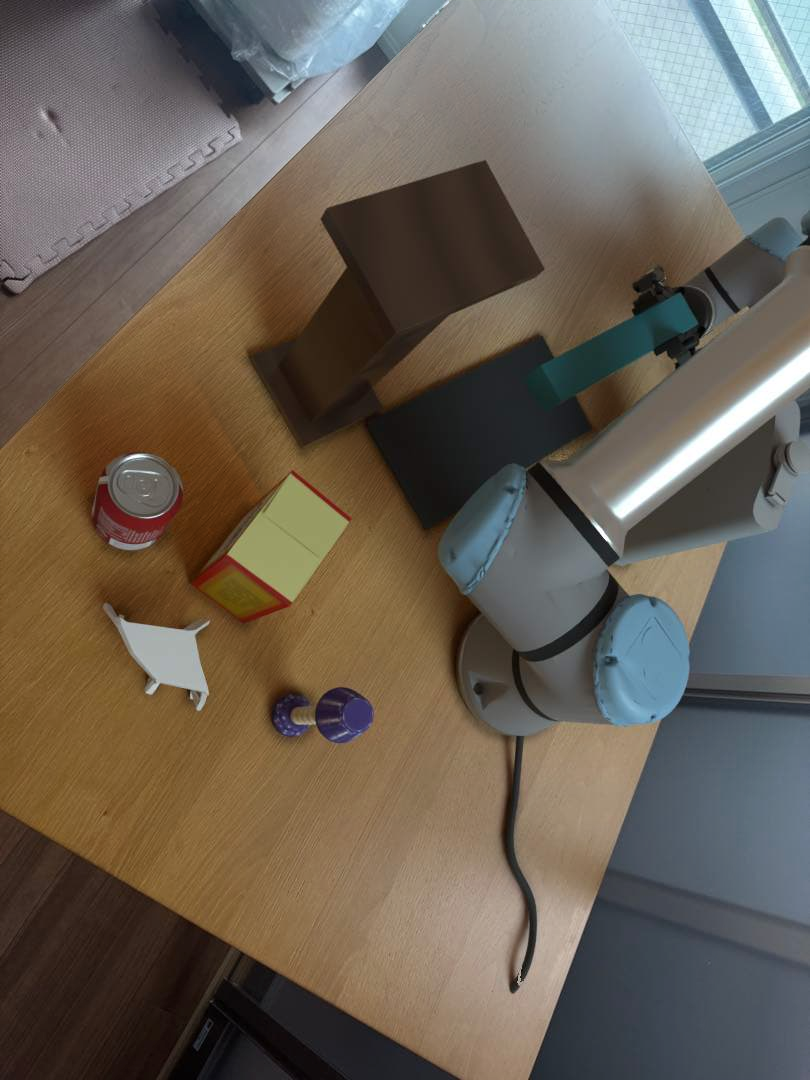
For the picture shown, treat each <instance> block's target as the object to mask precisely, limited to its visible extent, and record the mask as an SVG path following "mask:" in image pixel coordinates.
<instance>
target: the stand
mask: <svg viewBox="0 0 810 1080" xmlns="http://www.w3.org/2000/svg"><path fill="white" fill-rule="evenodd" d="M320 222H321V223H322V225H323V227H324V229H325V230H326V232H327V234H328V235H329V238H330V240H331V241H332V243H333V245H334V246H335V248H336V251H338V254H339V255H340V257H341V259H342V261H343V263H344V264H345V266H346V268H345V269H344V270H343V272H342V273H341V275H340V276H339V278H338V279H337V281H336V282H335V283H334V285H333V286H332V288H331V289H330V291H329V292H328V294H327V295H326V296H325V297H324V299H323V300H322V303H321V304H320V305H319V306H318V308H317V309H316V311H315V312H314V313H313V315H312V316H311V317H310V319H309V321H308V322H307V323H306V325H305V326H304V328H303V329H302V331H301V332H300V334H299V335H298V337H296V338H294V339H291V340H289V341H286V342H283V343H282V344H279V345H276V346H273V347H271V348H269V349H266V350H263V351H261V352H258V353H256V354H253V355H252V356H251V358H250V360H249V361H250V363H251V365H252V366H253V369H254V370H255V371H256V373H257V375H258V376H259V379H260V380H261V382H262V383H263V385H264V387H265V389H266V391H267V392H268V394H269V396H270V398H271V400H272V402H273V403H274V405H275V407H276V408H277V410H278V411H279V413H280V415H281V417H282V418H283V420H284V422H285V424H286V426H287V428H288V429H289V431H290V433H291V434H292V436H293V438H294V439H295V442H296V443H297V445H298V446H299V448H300V449H301V450H303V449H306V448H307V447H309V446H312V445H314V444H316V443H318V442H319V441H321V440H324V439H326V438H328V437H330V436H332V435H334V434H337V433H339V432H340V431H342V430H344V429H347V428H348V427H350V426H352V425H355V424H356V423H358V422H361V421H363V420H364V419H367V418H370V417H371V416H373V415H375V414H377V413H379V412H380V411H381V410H383V409H384V407H383V405H382V403H381V401H380V400H379V398H378V396H377V394H376V392H375V390H374V389H373V388H374V387H375V386H377V384H378V383H379V382H380V381H381V380H382V379H384V378H385V377H386V376H387V375H388V374H389V373H390V372H391V371H392V370H393V369H394V368H395V367H396V366H397V365H398V364H400V362H402V361H403V360H404V359H405V358H406V357H407V356H408V355H409V354H410V353H411V352H412V351H413V350H414V349H415V348H416V347H418V346H419V344H420V343H422V341H424V340H425V339H426V338H427V337H428V336H429V335H430V334H431V333H432V332H433V331H435V329H436V328H437V327H439V326H440V325H441V324H442V323H443V322H444V321H445V320H446V319H447V318H448V317H449V316H451V315H454V314H455V313H457V312H460V311H462V310H464V309H467V308H469V307H471V306H474V305H476V304H478V303H481V302H483V301H485V300H488V299H490V298H492V297H496V296H497V295H499V294H502V293H504V292H506V291H509V290H511V289H513V288H516V287H518V286H520V285H522V284H525V283H528V282H530V281H532V280H534V279H536V278H537V277H539V276H540V275H541V274H542V273H543V272H544V271H545V270H546V268H545V267H544V265H543V262H542V260H541V259H540V257H539V255H538V254H537V251H536V250H535V248H534V246H533V244H532V242H531V241H530V238H529V237H528V235H527V233H526V231H525V229H524V228H523V226H522V224H521V222H520V220H519V218H518V217H517V215H516V213H515V211H514V208H512V205H511V204H510V202H509V200H508V199H507V197H506V194H505V193H504V191H503V189H502V188H501V185H500V183H499V182H498V180H497V178H496V176H495V174H494V173H493V170H492V169H491V167H490V165H489V164H488V162H487V160H486V159H483V160H480V161H477V162H473V163H470V164H466V165H464V166H461V167H457V168H454V169H451V170H448V171H445V172H444V171H443V172H441V173H437V174H434V175H431V176H428V177H423V178H421V179H417V180H414V181H411V182H408V183H405V184H401V185H398V186H394V187H391V188H388V189H385V190H382V191H381V190H380V191H378V192H375V193H372V194H371V193H370V194H368V195H365V196H363V197H359V198H355V199H352V200H349V201H345V202H342V203H338V204H336V205H331V206H329V207H326V208H325V210H324V211H323V214H322V215H321V217H320Z"/></svg>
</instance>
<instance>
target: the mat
mask: <svg viewBox="0 0 810 1080" xmlns="http://www.w3.org/2000/svg"><path fill="white" fill-rule="evenodd" d="M554 358H555V357H554V355H553V353H552V351H551V349H550V347H549V345H548V343H547V342H546V339H545V338H544V336H543V335H540V336H538V337H537V338H535V339H533V340H531V341H528V342H526V343H524V344H523V345H520V346H518V347H517V348H513V349H512V350H510V351H508V352H505V353H504V354H502V355H499V356H498V357H496V358H494V359H492V360H490V361H488V362H486V363H484V364H481V365H480V366H478V367H476V368H474V369H472V370H469V371H468V372H466V373H464V374H462V375H459V376H457V377H455V378H453V379H451V380H449V381H447V382H445V383H443V384H441V385H439V386H437V387H435V388H432V389H431V390H429V391H427V392H425V393H422V394H421V395H418V396H417V397H415V398H412V399H410V400H408V401H406V402H405V403H402V404H400V405H398V406H396V407H394V408H392V409H390V410H388V411H386V412H384V413H382V414H380V415H378V416H376V417H373V418H372V419H369V420H368V421H366V422H364V425H365V427H366V429H367V431H368V433H369V434H370V436H371V438H372V440H373V441H374V443H375V444H376V447H377V448H378V450H379V452H380V454H381V455H382V457H383V459H384V460H385V463H386V464H387V466H388V467H389V469H390V472H391V473H392V475H393V477H394V478H395V480H396V481H397V483H398V486H399V487H400V489H401V491H402V493H403V494H404V496H405V498H406V499H407V501H408V503H409V505H410V507H411V508H412V510H413V512H414V514H415V515H416V517H417V519H418V520H419V523H420V524H421V526H422V528H423V530H424V531H427V530H429V529H430V528H432V527H433V526H435V525H437V524H438V523H440V522H442V521H444V520H445V519H446V518H448V517H450V516H452V515H453V514H455V513H456V512H459V511H460V509H461V508H462V507H463V506H464V504H465V503H466V502H467V501H468V500H469V499H470V498H471V496H472V495H473V494H474V493H475V492H476V491H477V490H478V489H479V488H480V487H481V486H482V485H483V484H484V483H485V482H486V481H487V480H488V479H489V478H491V477H492V476H493V475H496V474H497V473H498V472H499V471H500V470H501V469H502V468H503V467H505V466H507V465H509V464H513V463H514V464H517V465H519V466H523V467H524V468H525V470H528V469H529V468H531V467H532V466H534V465H535V464H536V463H537V462H539V461H540V460H541V459H542V460H544V459H545V458H547V457H548V456H550V455H551V454H553V453H555V452H556V451H558V450H559V449H561V448H562V447H564V446H566V445H567V444H569V443H571V442H573V441H574V440H576V439H577V438H579V437H581V436H582V435H584V434H585V433H587V432H590V430H593V426H592V424H591V422H590V420H589V419H588V417H587V414H586V413H585V411H584V409H583V407H582V406H581V404H580V402H579V400H578V398H577V395H575V396H573V397H572V398H570V399H568V400H566V401H565V402H563V403H561V404H559V405H558V406H556V407H554V408H552V409H551V410H549V411H547V412H545V413H543V411H542V409H541V408H540V406H539V404H538V402H537V401H536V399H535V397H534V396H533V394H532V392H531V391H530V389H529V387H528V385H527V384H526V382H525V380H524V377H526V376H527V375H528V374H530V373H531V372H532V371H534V370H535V369H536V368H538V367H539V366H541V365H542V364H544V363H546V362H548V361H550V360H552V359H554Z"/></svg>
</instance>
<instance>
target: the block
mask: <svg viewBox="0 0 810 1080" xmlns="http://www.w3.org/2000/svg"><path fill="white" fill-rule="evenodd" d="M697 324H698V322H697V320H696V318H695V317H694V315H693V313H692V312H691V310H690V308H689V306H688V305H687V303H686V301H685V299H684V298H683V296H682V294H681V293H678V294H676V295H674V296H672V297H670V298H668V299H666V300H665V301H663V302H661V303H659V304H657V305H655V306H653V307H652V308H650V309H648V310H646V311H644V312H642V313H640V314H638V315H636V316H634V315H633V316H632V317H630V318H628V319H626V320H624V321H622V322H621V323H618V324H616V325H615V326H613V327H611V328H609V329H607V330H605V331H602V332H601V333H599V334H597V335H596V336H593V337H592V338H590V339H588V340H586V341H584V342H582V343H580V344H579V345H576V346H575V347H573V348H571V349H569V350H567V351H566V352H564V353H561V354H560V355H558V356H555V357H554V359H552V360H550V361H548V362H546V363H544V364H542V365H541V366H539V367H538V368H536V369H535V370H534V371H532V372H531V373H530V374H528V375H527V376H526V377H524V380H525V382H526V384H527V385H528V387H529V389H530V391H531V392H532V394H533V396H534V397H535V399H536V401H537V402H538V404H539V406H540V408H541V409H542V411H543V413H545V412H547V411H549V410H551V409H552V408H554V407H556V406H558V405H559V404H561V403H563V402H565V401H566V400H568V399H570V398H572V397H573V396H577V395H579V394H581V393H582V392H584V391H585V390H587V389H589V388H591V387H592V386H594V385H596V384H598V383H599V382H601V381H603V380H605V379H606V378H608V377H610V376H612V375H613V374H615V373H617V372H619V371H621V370H622V369H625V368H626V367H627V366H630V365H631V364H633V363H635V362H637V361H638V360H640V359H641V358H643V357H645V356H647V355H648V354H650V353H652V352H654V351H653V350H654V349H656V348H658V347H659V346H661V345H663V344H665V343H666V342H668V341H670V340H672V339H674V338H675V337H677V336H679V335H681V334H682V333H684V332H686V331H688V330H689V329H691V328H692V327H694V326H696V325H697Z"/></svg>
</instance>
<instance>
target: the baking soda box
mask: <svg viewBox="0 0 810 1080" xmlns="http://www.w3.org/2000/svg"><path fill="white" fill-rule="evenodd" d="M352 519H353V518H352V517H351V516H350V515H348V514H347V513H346V512H345V511H344V510H342V508H340V507H339V506H337V505H336V504H335V503H334V502H332V500H330V499H329V498H328V497H327V496H325V495H324V494H323V493H322V492H320V491H319V490H318V489H317V488H315V487H314V486H313V485H312V484H311V483H309V482H308V481H307V480H306V479H304V478H303V477H302V476H301V475H299V474H298V473H297V472H296V471H295V470H293V469H292V470H290V472H288V474H286V475H285V476H284V477H283V478H282V479H281V480H280V481H279V482H278V483H276V485H274V487H272V488H271V489H270V490H269V491H268V492H267V493H266V494H265V495H264V496H263V497H261V498H260V499H259V500H258V501H257V502H256V503H254V504H253V506H251V508H250V509H248V510H247V512H245V514H244V515H243V516H242V518H241V519H240V520H239V521H238V523H237V524H236V525H235V527H234V528H233V529H232V530H231V532H229V534H228V535H227V537H226V538H225V539H224V540H223V542H222V543H221V544H220V545H219V547H218V548H217V549H216V551H215V552H214V553H213V554H212V556H211V557H210V558H209V559H208V560H207V562H206V563H205V565H203V567H202V568H201V569H200V571H199V572H198V573H197V575H196V576H195V577H194V578H193V580H192V581H191V582H190V585H191V586H192V587H193V588H194V589H196V590H198V591H199V592H200V593H202V594H203V595H204V596H205V597H207V598H208V599H209V600H211V601H212V602H214V603H215V604H216V605H218V607H220V608H221V609H223V610H224V611H226V612H227V613H228V614H230V615H231V616H232V617H234V618H235V619H236V620H238V621H239V622H240V623H242V624H244V625H245V624H247V623H249V622H251V621H252V622H253V621H255V620H257V619H259V618H263V617H265V616H267V615H271V614H273V613H276V612H278V611H281V610H284V609H287V608H289V607H291V605H292V604H293V603H294V601H295V600H296V598H297V597H298V595H299V594H300V593H301V591H302V590H303V588H304V587H305V586H306V584H307V583H308V582H309V580H310V579H311V577H312V576H313V575H314V573H315V571H317V569H318V568H319V566H320V565H321V563H322V562H323V560H324V559H325V557H326V556H327V554H328V553H329V551H330V550H331V549H332V547H333V546H334V545H335V543H336V542H337V541H338V539H339V538H340V537H341V535H342V534H343V532H344V530H345V529H346V528H347V526H348V525H349V523H350V522H351V521H352Z"/></svg>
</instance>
